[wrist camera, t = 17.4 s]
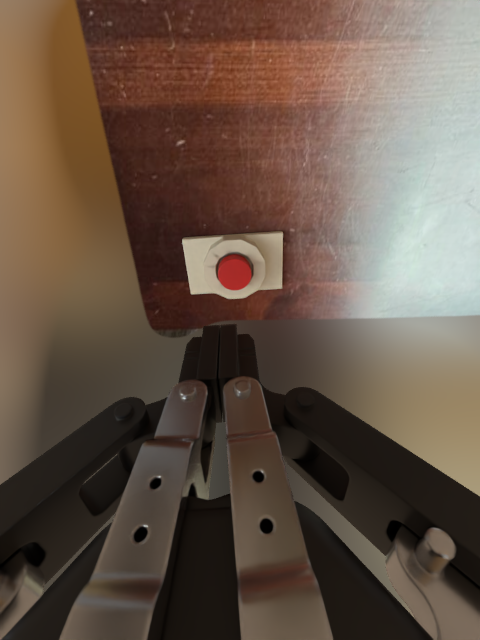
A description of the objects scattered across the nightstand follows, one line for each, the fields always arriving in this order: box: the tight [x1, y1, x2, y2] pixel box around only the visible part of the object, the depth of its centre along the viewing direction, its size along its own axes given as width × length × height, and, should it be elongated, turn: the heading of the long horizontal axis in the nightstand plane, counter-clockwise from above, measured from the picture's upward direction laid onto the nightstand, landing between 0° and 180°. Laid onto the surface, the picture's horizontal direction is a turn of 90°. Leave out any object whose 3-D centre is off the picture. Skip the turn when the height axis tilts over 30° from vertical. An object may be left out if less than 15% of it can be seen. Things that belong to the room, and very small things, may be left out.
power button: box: [218, 254, 252, 290], centre depth 27 cm, size 3×3×2 cm
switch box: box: [182, 231, 283, 299], centre depth 28 cm, size 10×6×2 cm, turn 93°
